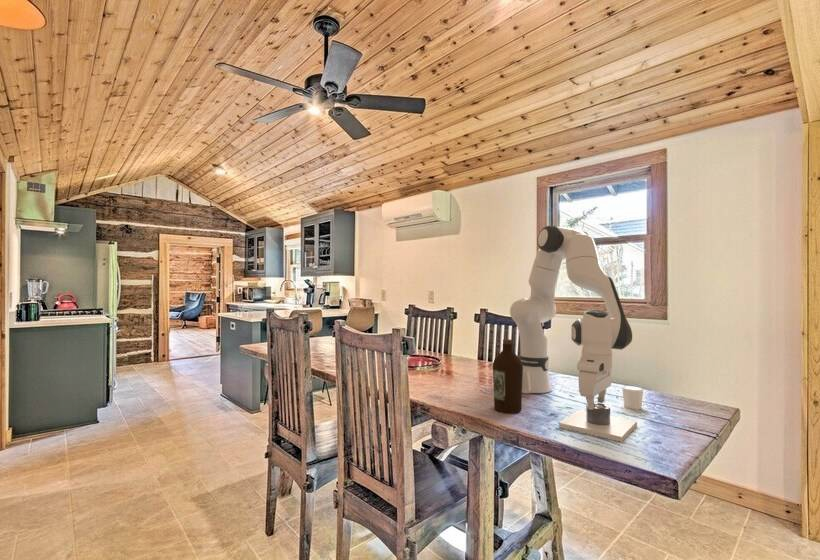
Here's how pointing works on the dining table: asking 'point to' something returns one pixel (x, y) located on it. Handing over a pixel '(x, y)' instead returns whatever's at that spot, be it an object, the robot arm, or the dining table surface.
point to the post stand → (614, 430)
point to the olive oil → (507, 380)
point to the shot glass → (632, 397)
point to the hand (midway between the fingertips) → (596, 405)
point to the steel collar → (598, 415)
